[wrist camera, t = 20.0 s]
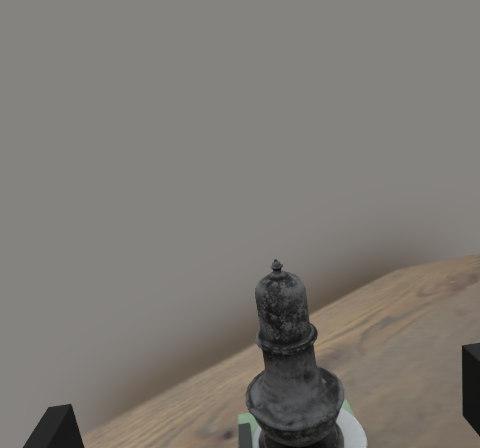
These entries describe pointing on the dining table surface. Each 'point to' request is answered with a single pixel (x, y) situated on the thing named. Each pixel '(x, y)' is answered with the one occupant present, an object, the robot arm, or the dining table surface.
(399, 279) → the dining table surface
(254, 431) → the scale
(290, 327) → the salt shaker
